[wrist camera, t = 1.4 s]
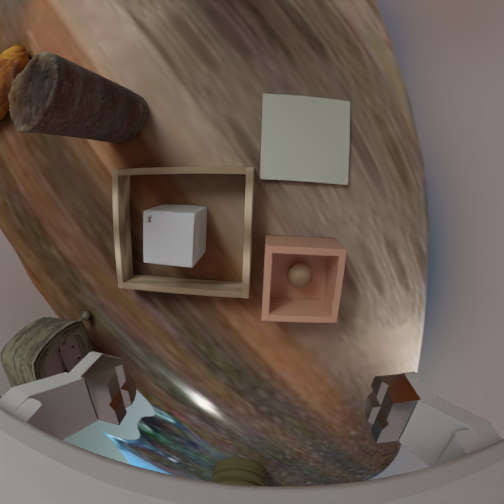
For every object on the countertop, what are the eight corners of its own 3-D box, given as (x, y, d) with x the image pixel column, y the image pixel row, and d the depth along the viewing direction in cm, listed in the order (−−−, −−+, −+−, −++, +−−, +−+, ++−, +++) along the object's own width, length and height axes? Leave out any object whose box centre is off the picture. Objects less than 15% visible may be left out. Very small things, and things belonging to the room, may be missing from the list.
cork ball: (287, 259, 37) (289, 266, 34) (311, 260, 37) (315, 267, 34) (285, 282, 38) (287, 292, 35) (309, 283, 38) (313, 292, 35)
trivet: (263, 94, 33) (263, 93, 32) (348, 102, 33) (349, 101, 32) (259, 179, 36) (259, 179, 35) (346, 185, 35) (347, 185, 35)
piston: (194, 505, 38) (247, 500, 37) (204, 462, 50) (250, 453, 48) (225, 524, 41) (273, 518, 39) (230, 484, 52) (274, 476, 50)
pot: (265, 234, 37) (265, 245, 32) (335, 238, 37) (346, 249, 31) (262, 300, 40) (261, 320, 34) (327, 302, 39) (336, 322, 33)
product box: (162, 248, 39) (141, 263, 32) (164, 202, 37) (141, 209, 30) (206, 252, 38) (193, 269, 31) (209, 206, 37) (195, 212, 30)
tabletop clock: (114, 375, 45) (47, 475, 21) (77, 368, 46) (6, 452, 21) (93, 302, 41) (-10, 392, 17) (55, 299, 42) (-44, 372, 18)
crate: (125, 169, 36) (112, 169, 33) (254, 168, 35) (253, 167, 32) (129, 279, 40) (118, 287, 37) (250, 288, 39) (248, 298, 36)
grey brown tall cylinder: (154, 136, 35) (58, 109, 16) (108, 152, 36) (1, 145, 16) (146, 86, 33) (58, 31, 14) (101, 104, 34) (2, 72, 14)
